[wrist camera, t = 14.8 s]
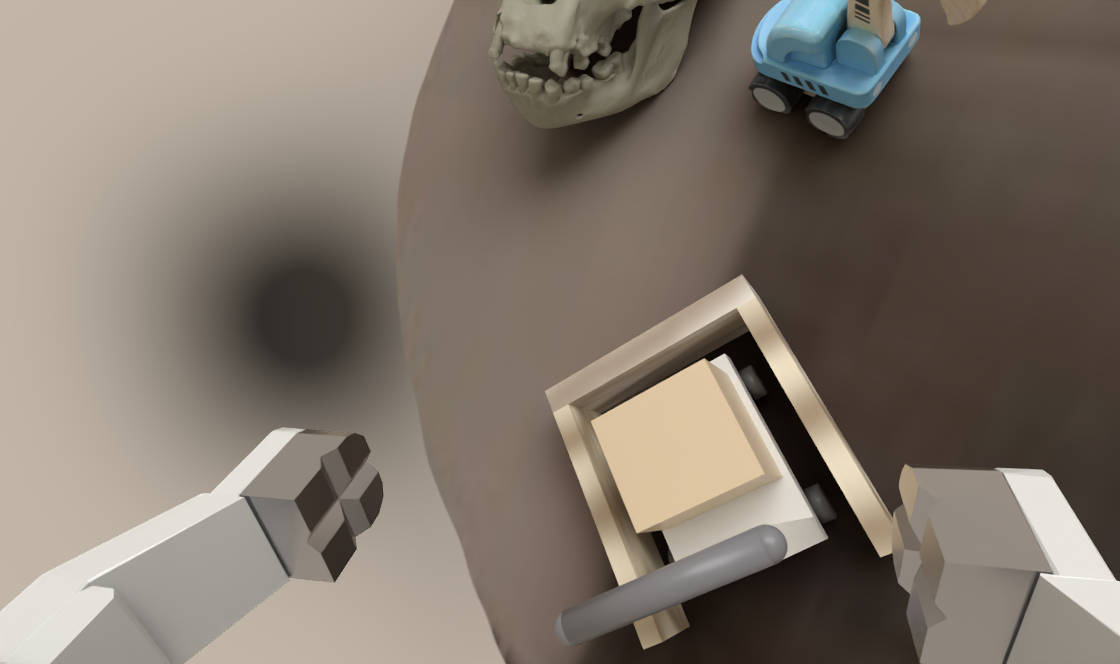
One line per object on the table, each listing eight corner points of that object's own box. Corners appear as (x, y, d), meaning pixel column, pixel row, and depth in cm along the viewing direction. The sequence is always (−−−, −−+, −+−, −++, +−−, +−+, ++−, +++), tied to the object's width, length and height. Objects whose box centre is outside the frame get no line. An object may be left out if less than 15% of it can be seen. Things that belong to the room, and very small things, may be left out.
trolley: (847, 531, 42) (796, 556, 24) (694, 593, 46) (551, 656, 28) (749, 357, 48) (649, 271, 30) (622, 425, 52) (465, 386, 34)
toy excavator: (932, 179, 45) (941, 28, 30) (745, 105, 53) (684, -41, 39) (1007, 79, 44) (1054, -126, 29) (805, 20, 53) (764, -160, 38)
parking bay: (906, 541, 40) (905, 547, 35) (672, 632, 46) (643, 649, 41) (759, 297, 49) (742, 274, 44) (578, 401, 55) (545, 391, 50)
